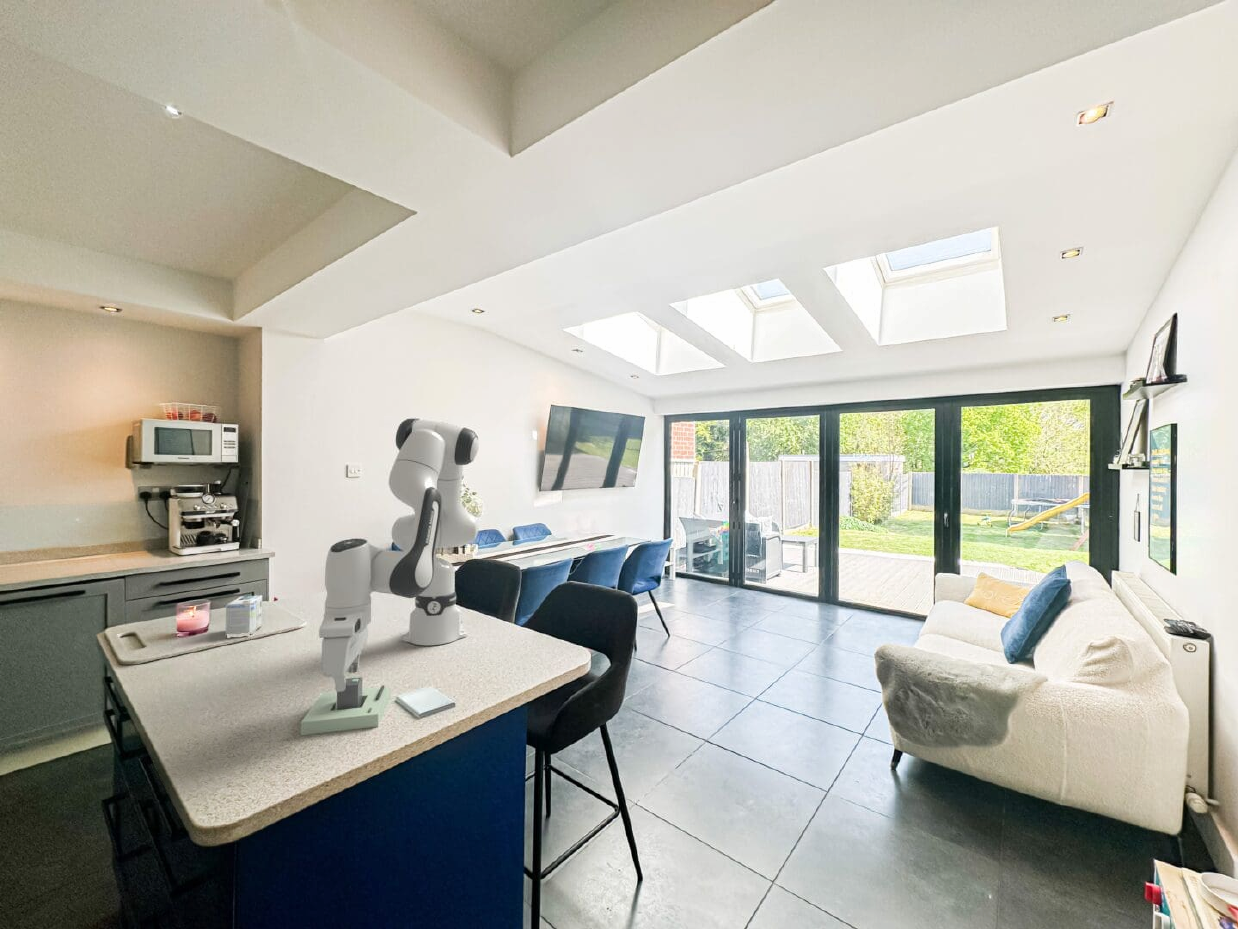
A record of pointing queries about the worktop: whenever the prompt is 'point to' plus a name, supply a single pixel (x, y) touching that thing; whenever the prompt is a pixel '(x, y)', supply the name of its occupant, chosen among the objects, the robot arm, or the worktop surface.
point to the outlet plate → (346, 712)
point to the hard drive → (425, 701)
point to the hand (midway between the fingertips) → (347, 680)
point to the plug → (350, 695)
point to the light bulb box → (243, 614)
